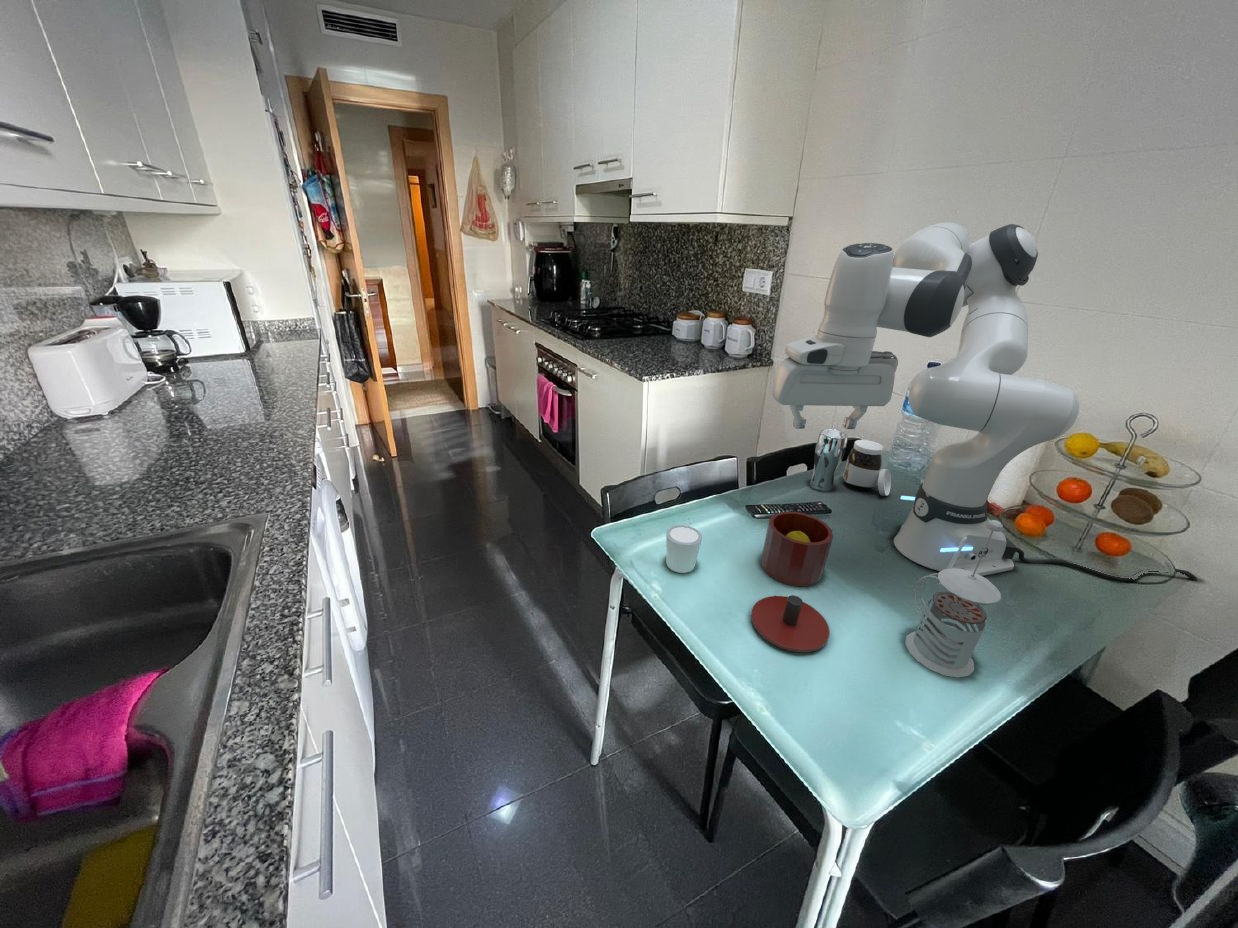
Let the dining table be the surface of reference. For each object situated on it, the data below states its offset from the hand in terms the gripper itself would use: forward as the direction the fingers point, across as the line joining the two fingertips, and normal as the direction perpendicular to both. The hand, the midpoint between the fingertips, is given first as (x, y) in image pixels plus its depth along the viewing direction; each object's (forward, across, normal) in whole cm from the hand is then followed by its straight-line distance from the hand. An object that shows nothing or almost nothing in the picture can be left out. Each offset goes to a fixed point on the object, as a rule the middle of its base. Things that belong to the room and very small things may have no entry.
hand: (823, 428), depth 89 cm
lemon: (+29, +1, +2) cm, 29 cm away
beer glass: (+29, -22, -32) cm, 49 cm away
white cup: (+29, +23, 0) cm, 37 cm away
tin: (+29, +1, +2) cm, 29 cm away
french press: (+29, -14, +24) cm, 40 cm away
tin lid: (+28, +8, +18) cm, 35 cm away
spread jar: (+29, -34, -31) cm, 55 cm away
